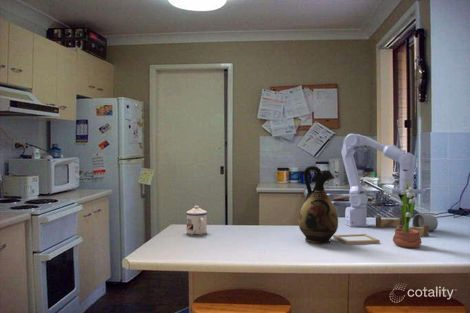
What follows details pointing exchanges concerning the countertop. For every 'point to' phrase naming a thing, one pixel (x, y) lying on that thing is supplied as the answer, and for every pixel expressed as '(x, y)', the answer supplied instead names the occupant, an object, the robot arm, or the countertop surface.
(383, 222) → the cedar frame
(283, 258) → the countertop surface
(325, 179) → the ceramic jug
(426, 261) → the countertop surface
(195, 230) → the teacup with lid
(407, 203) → the potted flower
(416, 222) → the ceramic mug
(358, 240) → the frame lid
